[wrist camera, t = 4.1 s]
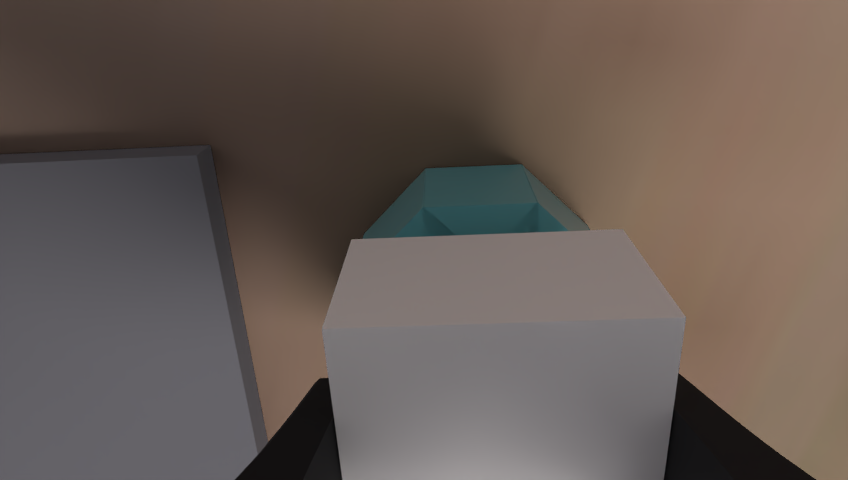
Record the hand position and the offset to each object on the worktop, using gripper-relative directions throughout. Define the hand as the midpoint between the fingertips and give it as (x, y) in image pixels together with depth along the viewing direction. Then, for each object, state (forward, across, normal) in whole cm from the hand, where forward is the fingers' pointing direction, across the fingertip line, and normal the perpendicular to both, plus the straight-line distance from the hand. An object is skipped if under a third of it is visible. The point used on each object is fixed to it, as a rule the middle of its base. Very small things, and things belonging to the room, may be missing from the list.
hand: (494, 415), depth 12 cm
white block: (+2, 0, 0) cm, 2 cm away
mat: (+6, +13, +2) cm, 15 cm away
